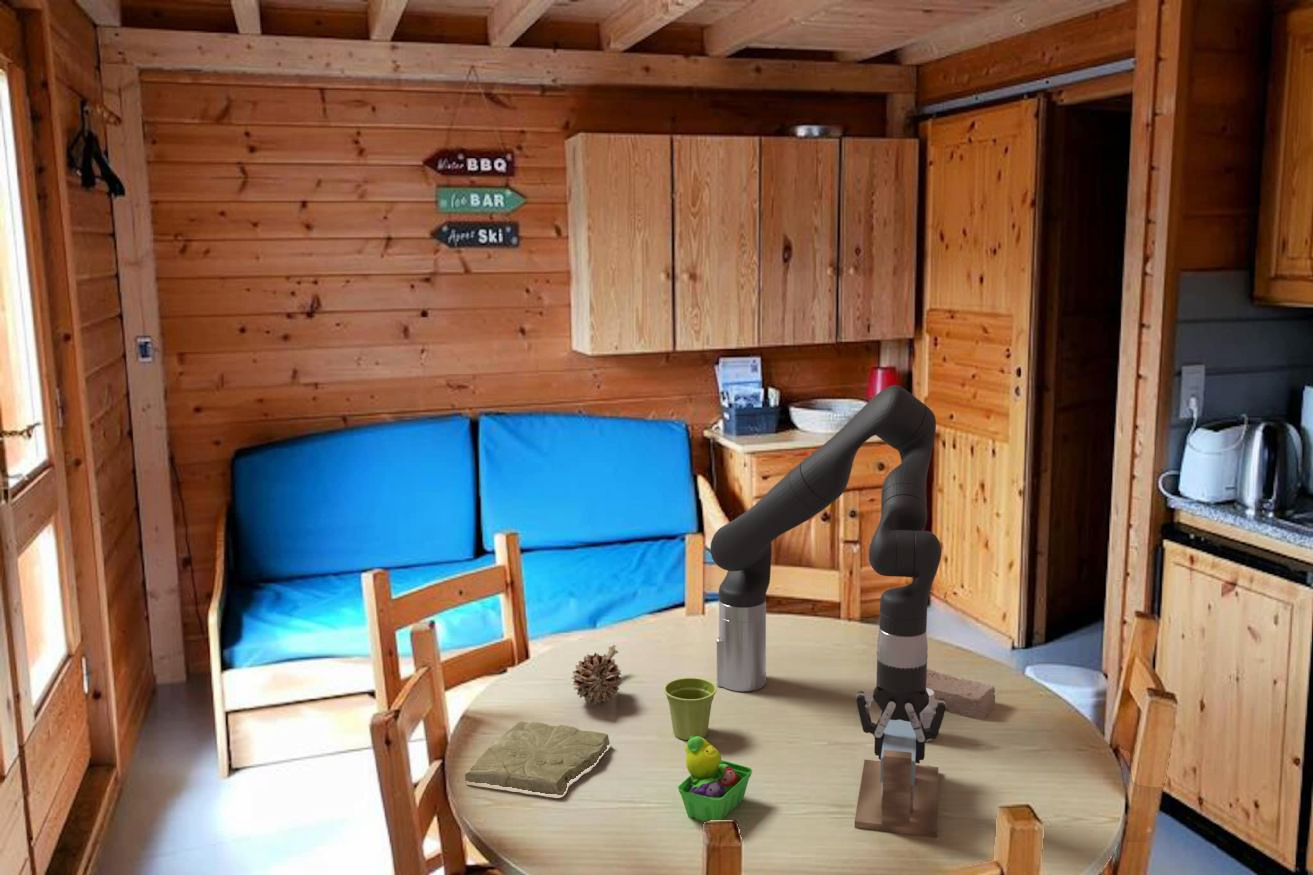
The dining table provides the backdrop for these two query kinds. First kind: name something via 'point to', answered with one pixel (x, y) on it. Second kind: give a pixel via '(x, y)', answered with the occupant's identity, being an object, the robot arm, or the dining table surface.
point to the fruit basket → (711, 782)
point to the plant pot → (690, 706)
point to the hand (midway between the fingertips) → (899, 758)
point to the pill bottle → (927, 712)
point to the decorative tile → (538, 757)
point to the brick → (962, 694)
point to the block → (900, 742)
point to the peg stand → (898, 796)
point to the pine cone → (597, 677)
